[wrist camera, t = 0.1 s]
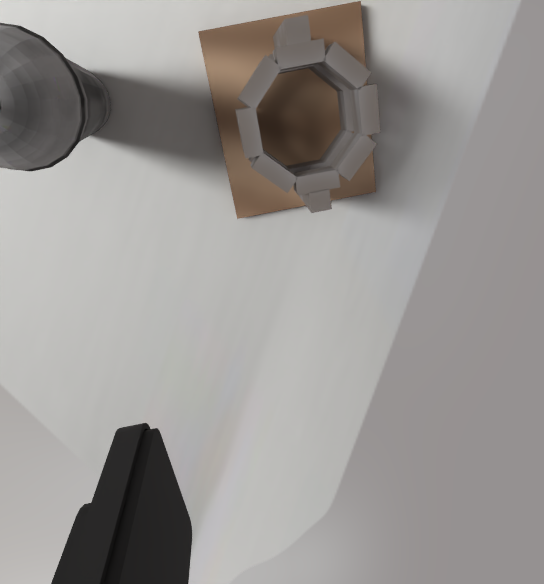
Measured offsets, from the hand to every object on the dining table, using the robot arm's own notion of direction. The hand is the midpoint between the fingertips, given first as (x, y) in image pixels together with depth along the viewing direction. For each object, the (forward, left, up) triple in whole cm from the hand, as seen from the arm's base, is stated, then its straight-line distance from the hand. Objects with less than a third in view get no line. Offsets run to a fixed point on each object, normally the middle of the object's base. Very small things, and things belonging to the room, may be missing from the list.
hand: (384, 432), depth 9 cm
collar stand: (-5, +3, -31) cm, 32 cm away
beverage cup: (-9, -13, -31) cm, 35 cm away
